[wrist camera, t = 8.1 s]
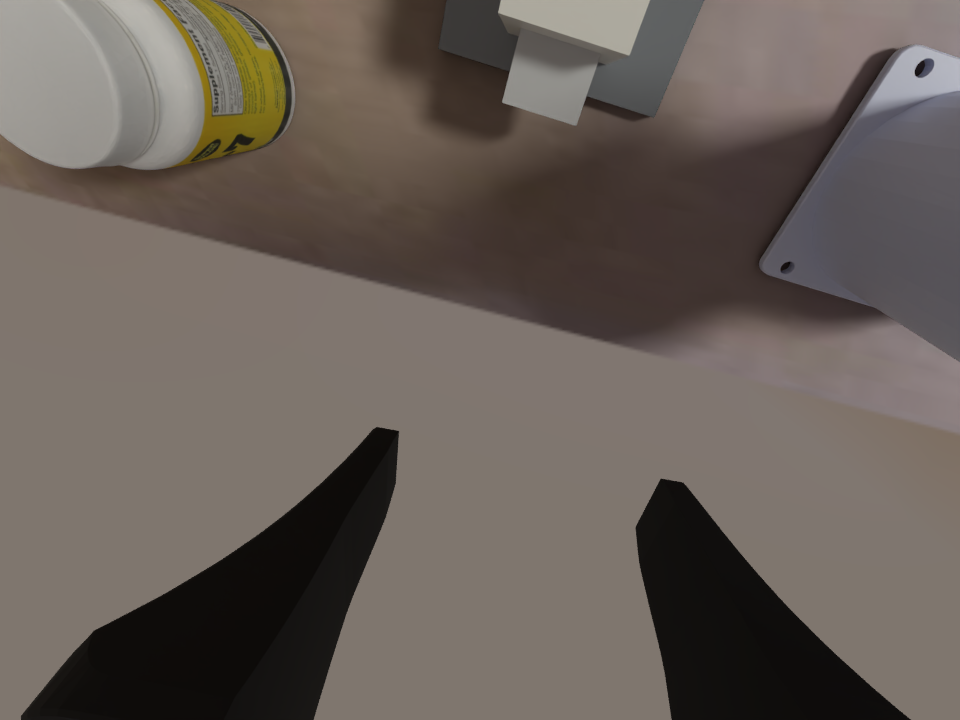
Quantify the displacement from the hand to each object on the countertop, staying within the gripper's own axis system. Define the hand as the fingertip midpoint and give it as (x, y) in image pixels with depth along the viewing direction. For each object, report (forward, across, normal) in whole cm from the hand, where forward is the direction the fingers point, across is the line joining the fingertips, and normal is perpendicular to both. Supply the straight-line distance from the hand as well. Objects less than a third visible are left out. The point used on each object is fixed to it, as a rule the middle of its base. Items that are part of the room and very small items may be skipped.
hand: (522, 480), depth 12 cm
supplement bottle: (+11, +13, -8) cm, 18 cm away
